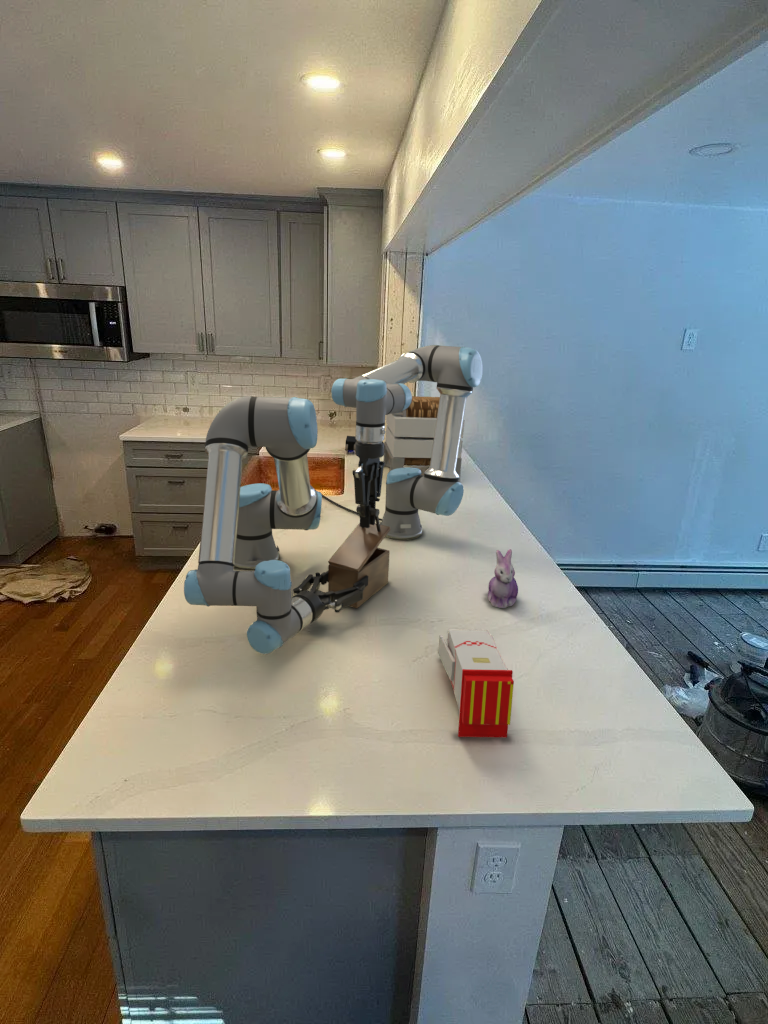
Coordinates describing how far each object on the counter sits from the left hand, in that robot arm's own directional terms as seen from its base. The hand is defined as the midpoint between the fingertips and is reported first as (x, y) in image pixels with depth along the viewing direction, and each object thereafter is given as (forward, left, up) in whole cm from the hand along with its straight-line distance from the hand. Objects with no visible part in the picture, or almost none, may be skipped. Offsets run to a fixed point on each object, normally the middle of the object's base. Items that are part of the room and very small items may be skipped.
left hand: (351, 575), depth 153 cm
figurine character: (-86, +140, -7) cm, 165 cm away
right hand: (0, +8, +12) cm, 14 cm away
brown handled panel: (0, +5, +7) cm, 8 cm away
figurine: (+36, +21, -7) cm, 42 cm away
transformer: (-38, +125, -7) cm, 130 cm away
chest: (0, +4, -7) cm, 8 cm away
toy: (+42, -21, -7) cm, 48 cm away
